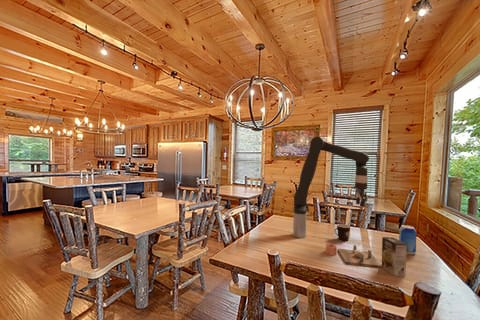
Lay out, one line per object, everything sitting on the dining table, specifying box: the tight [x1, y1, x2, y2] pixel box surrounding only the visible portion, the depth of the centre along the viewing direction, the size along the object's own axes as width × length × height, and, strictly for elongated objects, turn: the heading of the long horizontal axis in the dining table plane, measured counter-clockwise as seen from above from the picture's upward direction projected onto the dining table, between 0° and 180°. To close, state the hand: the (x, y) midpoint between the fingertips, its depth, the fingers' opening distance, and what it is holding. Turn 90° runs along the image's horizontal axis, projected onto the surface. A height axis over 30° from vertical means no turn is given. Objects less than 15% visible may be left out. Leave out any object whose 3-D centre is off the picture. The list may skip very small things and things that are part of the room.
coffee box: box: [381, 236, 407, 277], centre depth 111 cm, size 9×6×16 cm
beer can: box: [398, 224, 417, 255], centre depth 135 cm, size 8×8×16 cm
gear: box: [325, 243, 338, 256], centre depth 131 cm, size 6×6×4 cm
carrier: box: [337, 244, 383, 269], centre depth 124 cm, size 18×18×5 cm
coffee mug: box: [334, 223, 351, 242], centre depth 154 cm, size 12×9×10 cm
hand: (360, 205), depth 148 cm, fingers open, 8 cm apart
